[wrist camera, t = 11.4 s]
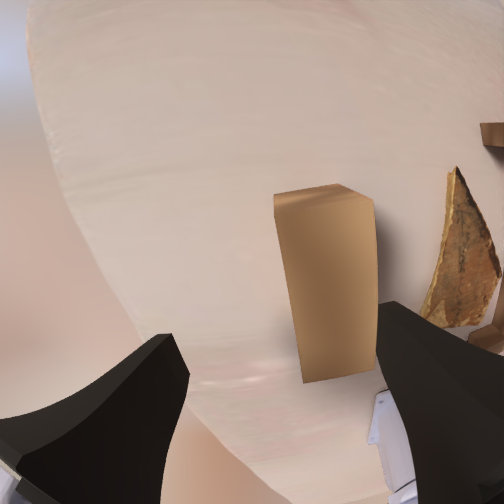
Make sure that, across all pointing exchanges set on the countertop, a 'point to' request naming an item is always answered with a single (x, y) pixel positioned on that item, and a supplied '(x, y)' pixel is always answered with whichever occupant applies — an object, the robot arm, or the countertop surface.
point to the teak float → (330, 278)
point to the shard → (462, 262)
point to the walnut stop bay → (500, 331)
